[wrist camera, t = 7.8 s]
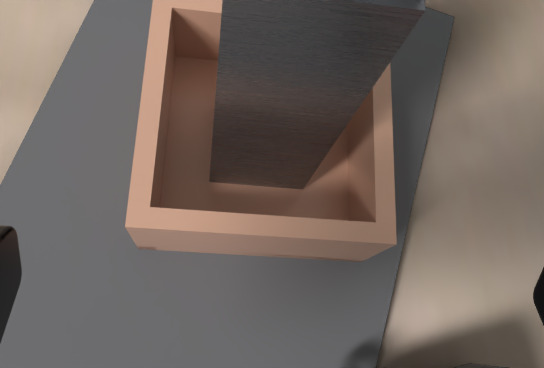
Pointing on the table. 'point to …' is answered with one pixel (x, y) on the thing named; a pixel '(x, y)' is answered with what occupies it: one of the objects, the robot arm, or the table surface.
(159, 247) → the open box
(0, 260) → the robot arm
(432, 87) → the mat
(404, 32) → the grey block
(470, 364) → the grey red device
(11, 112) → the table surface
